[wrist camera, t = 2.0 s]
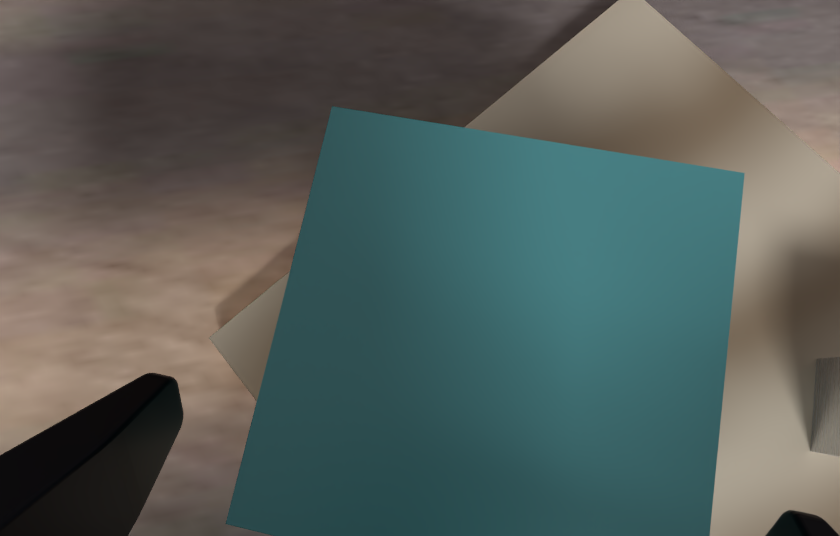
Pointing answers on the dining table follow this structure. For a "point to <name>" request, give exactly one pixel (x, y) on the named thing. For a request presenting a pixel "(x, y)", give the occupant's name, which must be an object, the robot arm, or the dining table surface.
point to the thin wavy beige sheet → (756, 253)
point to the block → (826, 407)
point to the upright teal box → (495, 341)
